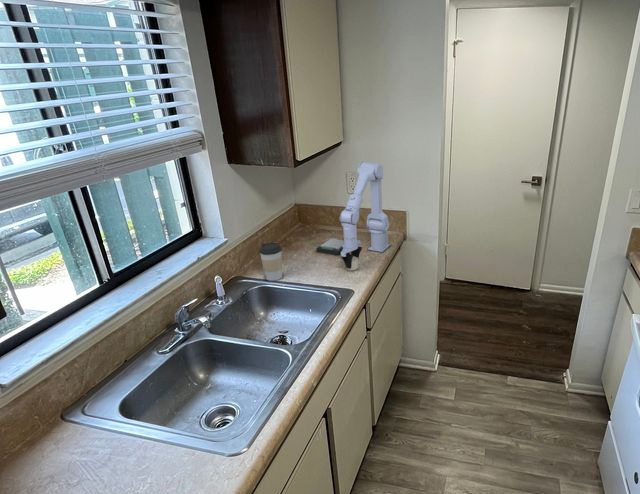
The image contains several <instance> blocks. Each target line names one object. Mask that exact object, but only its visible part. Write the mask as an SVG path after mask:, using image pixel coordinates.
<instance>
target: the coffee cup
mask: <svg viewBox="0 0 640 494" xmlns="http://www.w3.org/2000/svg"><path fill="white" fill-rule="evenodd" d="M282 250H283V249H282V246H281V245H279V244H278V243H277V242H266V243H262V244H261V247H260V248H259V250H258V253H259V254H260V260H261V264H262V268H263V272H264V276H265V280H267V281H270V282H273V281H278V280H280V279H282V278H283V253H282Z"/></svg>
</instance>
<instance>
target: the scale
mask: <svg viewBox="0 0 640 494" xmlns="http://www.w3.org/2000/svg"><path fill="white" fill-rule="evenodd" d="M342 245H344V239H338V238H329V239H328V240H326V241H325V242H323V243H321V244H320V245H319V246H317V247H316V252H318V253H323V254H329V255H334V256H340V254H341V252H342V250H343V248H344V247H342Z"/></svg>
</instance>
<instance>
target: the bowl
mask: <svg viewBox="0 0 640 494" xmlns="http://www.w3.org/2000/svg"><path fill="white" fill-rule="evenodd" d="M345 269H346V270H347V271H356V270H358V269H359V259H358V258H357V257H353V258H352V266H351V269H349V268H346V267H345Z"/></svg>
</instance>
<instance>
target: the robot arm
mask: <svg viewBox="0 0 640 494" xmlns="http://www.w3.org/2000/svg"><path fill="white" fill-rule="evenodd" d="M356 171H357V172H356V173H357V176H358V177H357V180H356V183H355V187H354V191H353V193H352V194H350V195H349V197H348V200H347V203H346V206H345V208H344V209H343V210H342V211H341V212H340V215H339V221H340V224H341V227H342V230H343V240H344V245H342V247H344V248H343V250H342V252H341V254H339V256H340V257H341V259H342V260H343V263H344V265H345V269H346V268H349V269H351V266H352V258H353V257H357V258H358V260H359V259H360V254H361V252H362V249H363V247H362V246H361V245H362V241H361V240H359V239H358V229H357V228H358V227H357V224H358V222H359V220H360V209H361V206H362V203H363V201H364V200H363V197H362V196H363V194H364V192H365V190H366V188H367V186H368V184H369V187H370V188H369V189H370V190H369V191H370V210H371V212H370V213H369V214H367V216H366V223H365V224H366V229H367V230H368V232H369V233H370V246H369V247H368V248H367V250H368V251H374V252H378V253H379V252H380V253H383V252H384V251H386V250H387V249H388V248H389V247H390V246H391V244H390V243H389V232H388V230H389V228H390V222H389V217H388V215H387V214H386V213H384V211H383V196H382V195H383V194H382V180H383V179H384V166H383V165H382V164H381V163H380V162H379V163H376V162H367V161H360V162H359V164H358V165H357V170H356Z"/></svg>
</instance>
